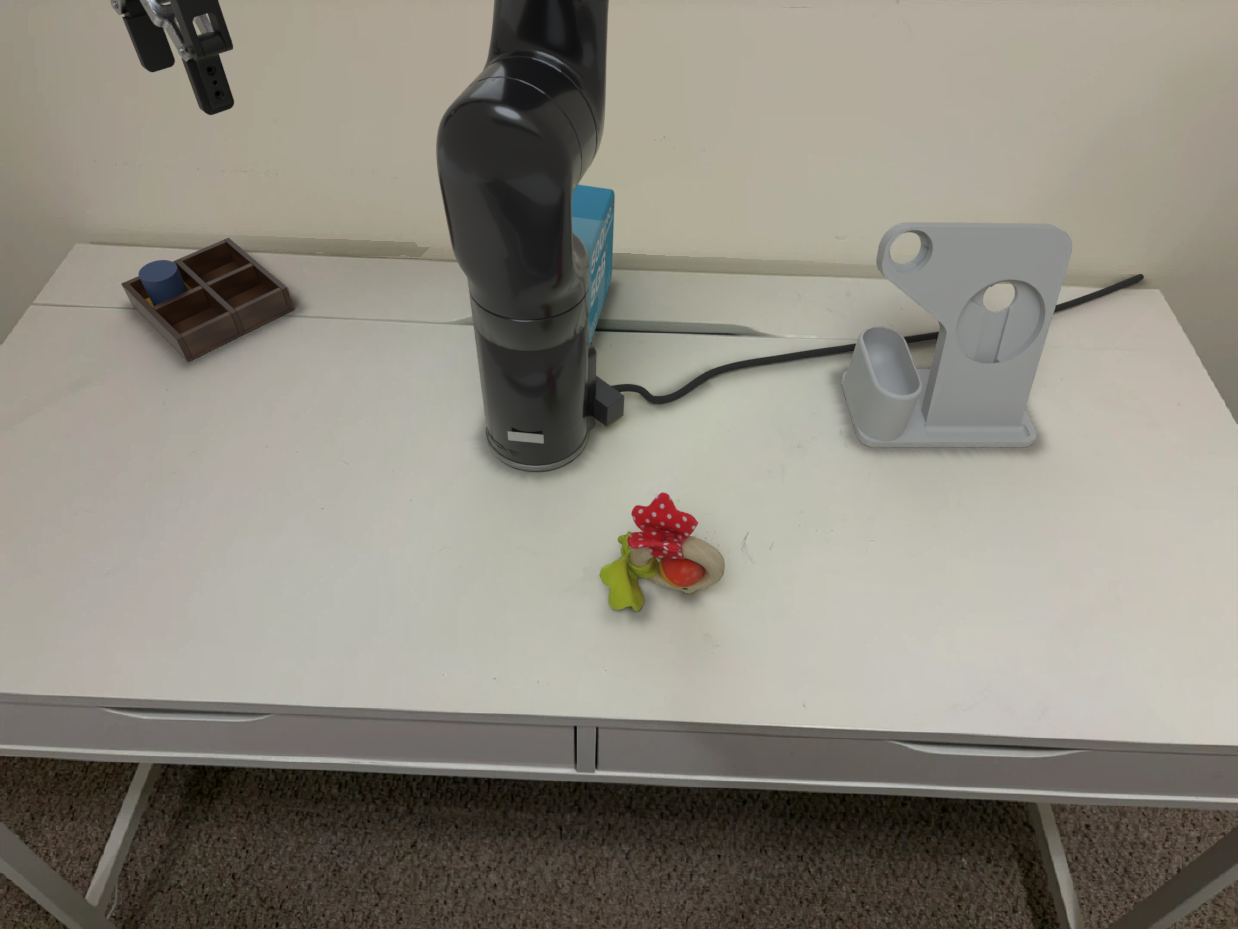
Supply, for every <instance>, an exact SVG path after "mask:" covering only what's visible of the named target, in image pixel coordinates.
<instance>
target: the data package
mask: <svg viewBox="0 0 1238 929" xmlns="http://www.w3.org/2000/svg"><path fill="white" fill-rule="evenodd" d="M615 194H616V193H615V191H614V190H613V189H612V188H605V187H599V186H591V185H585V184H578V185H577V187H576V188H575V190H574V191H573V195H572V232H573V233H574V234H575V235H577V236H578V237H579V238H580V240H581V241H582V242H583V244H584V245H585V247H586V249H587V252H588V257H589V342H588V343H589V344H590V345H591V343H592V340H593V338H594V335H595V332H596V329H597V325H598V322H599V319H600V316H601V314H602V310H603V308H604V304H605V302H606V298H607V295H608V293H609V289H610V287H611V281H612V274H613V252H614V251H613V250H614V228H615V227H614V226H615V225H614V224H615V202H616V201H615V198H616V195H615Z"/></svg>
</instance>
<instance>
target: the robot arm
mask: <svg viewBox="0 0 1238 929" xmlns="http://www.w3.org/2000/svg"><path fill="white" fill-rule="evenodd" d="M109 1H110V5H111V8H112V9H113V10H114V11H115V12H116V14H117V15H119V16H122V15H123V16H122V17H121V18H122V21H123V23H124V26H125V28H126V31H127V33H128V36H129V38H130V41H131V43H132V46H133V48H134V51H135V53H136V55H137V58H138V60H139V62H140V65H141V66H142V68H143V69H145V70H146V71H148V72H149V73H156V72H159V71H162V70H166V69H169V68H172V67H173V66H174V65H175V63H176V59H175V55H174V53H173V50H172V48H171V45H170V43H169V39H170V41H172V44H173V45H174V47H175V49H176V51H177V53H178V55H179V56H180V57H181V62H182V63H183V67H184V69H185V73H186V75H187V78H188V80H189V84H190V87H191V89H192V92H193V94H194V98H195V100H196V103H197V104H198V108H199V109H200V110H201V111H202V112H203V113H205V114H206V115H208V116H214V115H216V114H220V113H222V112H225V111H228V110H230V109H232V108H233V107H234V105H235V98H234V96H233V92H232V90H231V87H230V84H229V81H228V78H227V75H226V71H225V68H224V65H223V62H222V59H221V55H220V54H223V53H227V52H230V51H232V50H233V49H234V44H233V40H232V38H231V35H230V32H229V28H228V25H227V23H226V20H225V16H224V13H223V10H222V8H221V4H220V1H219V0H109ZM609 4H610V0H494V1H493V12H492V25H491V34H490V40H489V47H488V54H487V58H486V61H485V64H484V66H483V69H482V71H481V72H480V73H479V74H478V75H477V76H476V77H475V78H474V79H473V80H472V81H471V82H470V83H469V84H468V85H467V86H466V87H465V88H464V90H463V91H462V92H461V93H460V94H459V95H458V96H456V98H455V99H454V100H453V102H452V103H451V104H450V105H449V106H448V107H447V109H446V110H445V111H444V113H443V115H442V117H441V118H440V121H439V125H438V128H437V133H436V142H435V156H436V157H435V158H436V170H437V176H438V182H439V188H440V195H441V199H442V204H443V210H444V215H445V219H446V225H447V229H448V230H447V231H448V235H449V239H450V243H451V249H452V252H453V255H454V257H455V260H456V262H457V264H458V266H459V268H460V269H461V271H462V272H463V274H464V275H465V277H466V278H467V279H466V280H467V286H468V294H469V301H470V310H471V317H472V324H473V332H474V341H475V348H476V356H477V357H476V358H477V364H478V373H479V379H480V381H479V382H480V388H481V396H482V404H483V413H484V420H485V437H486V438H485V439H486V442H487V446H488V447H489V450H490V451H491V453H493V455H494V457H496V458H497V459H498V460H499V461H501V462H502V463H504V464H506V465H507V466H510V467H512V468H513V469H518V470H520V471H526V472H527V471H528V472H544V471H551V470H555V469H557V468H560V467H561V468H562V467H563V466H565V465H567V464H569V463H571V462H572V461H573V460H575V459H576V458H578V456H579V455H580V454H581V453H582V452H583V450H584V449H585V447H586V445H587V442H588V440H589V432H590V431H591V430H592V429H593V428H595V427H596V421H598V422H599V423H600V424H602V425H603V426H604V427H606V428H608V427H610V426H611V425H612V424H613V423H615V422H617V421H618V420H619V419H621V418H623V416H624V412H625V398H626V396H625V395H624V394H623V393H635V394H639V395H640V396H641V397H642V398H643V399H644V400H646V402H649V403H651V404H655V405H660V404H661V405H662V404H668V403H671V402H674V401H677V400H679V399H680V398H682V397H684V396H686V395H687V394H689V393H690V392H692V391H693V390H694V389H695V388H697V387H698V386H700V385H701V384H703V383H704V382H706V381H708V380H710V379H711V378H713V377H716V376H718V375H721V374H725V373H729V372H733V371H737V370H741V369H746V368H752V367H757V366H765V365H772V364H778V363H786V362H791V361H796V360H803V359H810V358H816V357H823V356H829V355H837V354H844V353H850V352H854V349H855V346H856V343H849V344H842V345H835V346H827V347H821V348H815V349H808V350H800V351H795V352H789V353H782V354H777V355H770V356H763V357H756V358H749V359H743V360H740V361H739V360H738V361H735V362H731V363H727V364H723V365H720V366H716V367H713V368H711V369H709V370H707V371H704V372H702V374H699V375H698V376H697V377H695V378H693V379H692V380H690V382H687V384H686V385H684V386H682V387H681V388H680V389H678V390H676V391H674V392H672V393H669V394H665V395H653V394H652V393H650V391H649V390H648V389H646V388H645V387H644V386H642V385H639V384H636V383H635V384H634V383H621V384H613V385H610V384H609V383H607V382H606V381H605V380H603V379H602V378H600V377H599V376H598V375H597V368H598V367H597V366H598V364H597V363H598V360H597V358H598V352H597V349H596V348H595V347H594V346H593V345H592V344H591V343H590V344H589V343H588V342H589V257H588V252H587V249H586V247H585V245H584V244H583V242H582V241H581V240H580V238H579V237H578V236H577V235H575V234H574V233H573V232H572V195H573V191H574V190H575V188H576V187H577V185H580V182H581V181H582V179H583V177H585V174H586V173H587V172H588V170H589V169H590V167H591V166H592V164H593V162H594V160H595V158H596V156H597V154H598V152H599V150H600V146H601V143H602V139H603V135H604V129H605V120H606V118H605V117H606V100H607V98H606V97H607V96H606V95H607V61H608V60H607V59H608V30H609V29H608V28H609V27H608V26H609V25H608V24H609V8H610V5H609ZM194 23H195V24H194ZM195 25H196V27H197V29H198V30H199V32H200V34H198V33H197V30H196V28H195ZM166 33H167V34H166ZM167 35H168V37H169V39H168V37H167ZM1144 279H1145V276H1144V274H1142V273H1138V274H1136V275H1133V276H1130V277H1129V278H1126V279H1124V280H1122V281H1119V282H1117V283H1114V284H1112V285H1109V286H1107V287H1104V288H1102V289H1099V290H1096V291H1093V292H1090V293H1088V294H1085V295H1082V296H1079V297H1077V298H1074V299H1070V300H1067V301H1065V302H1061V303H1058V304H1056V307H1055V310H1054V314H1055V313H1058V312H1061V311H1065V310H1068V309H1071V308H1074V307H1075V306H1079V305H1082V304H1085V303H1087V302H1090V301H1093V300H1095V299H1098V298H1101V297H1103V296H1106V295H1109V294H1112V293H1113V292H1116V291H1119V290H1121V289H1124V288H1126V287H1129V286H1131V285H1134V284H1135V283H1138V282H1140V281H1143V280H1144ZM938 335H939V330H938V331H931V332H927V333H919V334H915V335H908V336H907V335H906V336H903V337H904V339H905V340H906V342H907V345H908V344H913V343H921V342H926V341H927V342H928V341H932V340H937V339H938Z"/></svg>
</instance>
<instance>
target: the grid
mask: <svg viewBox="0 0 1238 929" xmlns="http://www.w3.org/2000/svg"><path fill="white" fill-rule="evenodd" d="M172 262H174V263H175V264H176V265H177V267H178V270H179V272H180V274H181V276H182V279H183V281H184V283H185V285H186V287H187V290H188V291H187V292H185V293H182V294H180V295H178V296H176V297H174V298H171V299H169V300H167V301H165V302H162V303H160V304H158V305H156V306H153V304H152V302H151V300H150V298H149V296H148V294H147V292H146V290H145V288H144V286H143V284H142V282H141V280H140V278H139V275H138V276H135V277H133V278H130V279H129V280H128V279H127V280H126V281H124V282H122V283H121V286H122V288H123V291H124V292H125V294H126V296H127V298H128V300H129V302H130V304H131V306H132V307H133V309H135V310H136V311H137V313H139V315H141V316H142V317H143V318H144V319H145V320H146V321H147V323H149V325H151V327H153V329H154V330H155V331H157V333H159V335H160V336H161V337H162V338H163V339H164V340H165V341H166V342H167V343H168V344H169V345H170V346H171V347H172V348H173V349H174V351H176V352H177V353H178V354H179V356H181V357H182V359H183V360H185V361H186V362H187V363H189V362H191V361H194V360H195V359H198V358H199V357H201V356H203V355H205V354H208V353H210V352H211V351H214V350H215V349H217V348H220V347H222V346H224V345H226V344H228V343H230V342H232V341H234V340H235V339H239V338H240V337H242V336H244V335H246V334H248V333H250V332H253V331H254V330H256V329H258V328H261V327H262V326H265V325H266V324H268V323H271V322H272V321H275V320H276V319H278V318H281V317H282V316H285V315H287V314H289V313H290V312H293V311H295V306H294V303H293V301H292V298H291V295H290V291H289V288H288V286H286V284H284V283H283V282H282V281H281V280H279V279H278V278H277V277H276V276H275V275H273V273H271V272H270V271H269V270H267V269H266V268H265V267H264V266H263V265H262V264H260V262H258V261H257V260H256V259H254V258H253V257H252V256H251V255H250V254H248V253H247V251H245V250H244V249H243V248H241V247H240V245H238V244H237V243H236V242H234V240H232V239H231V238H230V237H227V238H224V239H222V240H219V241H217V242H215V243H212V244H210V245H208V246H206V247H202V248H201V249H198V250H196V251H194V252H192V253H189V254H187V255H184V256H181V257H180V258H177V259H175V260H173V261H172Z"/></svg>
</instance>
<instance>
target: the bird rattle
mask: <svg viewBox="0 0 1238 929" xmlns="http://www.w3.org/2000/svg"><path fill="white" fill-rule="evenodd" d="M631 517H632V520H633V523H634V524H635V526H636V527H637V528H638V529H639V530H640V531H633V532H631V531H629V530H628V531H627V532H626V534H621V535H619V536H618V537H617V542H618V543H619V545H621V548H620V553H621V557H620V558H618V559H616V560H614V561H612V562H611V563H608V564H605V565H604V566H603V567H601V569H600V572H599V578H600V581H601V582H602V583H603V585H604V586H606V587H607V588H609V593H608V600H607V601H608V606H609V607H611V608H612V610H614V611H621V610H624V609H626V608H629V607H631V608H632V610H633V611H634V612H636V613H637V612H640V611H641V610H642V609H643V606H644V603H645V597H644V595H643V592H642V590H641V586H640V584H639V581H638V577H639V578H641V579H646V580H648V581H649V582H652V583H654V584H657V585H659V586H662V587H665V588H669V589H674V590H678V591H680V592H683V593H685V594H687V595H691V594H693V593H695V592H696V591H700V590H704V589H708V588H710V587H713V586H714V585H716V584H718V583H719V582H720V581H721V580H722V578H723V576H724V573H725V569H726V562H725V558H724V556H723V554H722V553H721V551H719V549H718V548H717V547H715V546H713V545H712V544H711V543H709V542H707V541H705V540H703V539H702V538H698V537H695V536H693V535H692V534H693V532H694V531H695V530H696V528H697V527H698V525H699V522H698V521H697V519H696V518H695V516H694V515H692V514H691V513H688V512H685V511H681V510H679V509H677V506H676V505H675V503H674V501H673V499H672V498H671V496H670V494H669V493H667V492H660V493H659V494H657V496H655V497H654V498H653V500H652V501H651V502H650V504H649V505H639V504H636V505H635V506H634V507H633V508H632V510H631Z"/></svg>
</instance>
